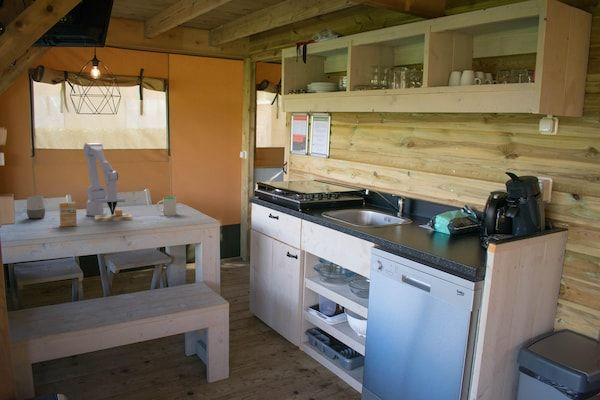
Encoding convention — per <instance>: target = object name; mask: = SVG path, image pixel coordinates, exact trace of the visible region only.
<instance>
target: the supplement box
mask: <svg viewBox="0 0 600 400" xmlns="http://www.w3.org/2000/svg"><path fill="white" fill-rule="evenodd" d="M58 204H59V205H58V206H59V224H60V227H73V226H74V227H77V226H78V222H77V221H78V219H77V218H78V217H77V202H76V201H59V203H58Z"/></svg>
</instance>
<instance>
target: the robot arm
mask: <svg viewBox="0 0 600 400" xmlns="http://www.w3.org/2000/svg"><path fill="white" fill-rule="evenodd" d="M83 155H84V158H85V159H86V161H87V167H88V174H89V179H90V185H89V186H88V187H87V189H86V198H87V201H86V203H85V209H86V211H85V212H86V214H85V216H93V217H95V215H108V213H107V212H104V210H105V209H104V204H106V203H107V206H108V208H109V210H110V212H111V214H110V215H114V214H115V209H116V207H117V204H118V203H126V198H120V197H119V198H118V189H117V188H118V186H117V185H118V184H117V181H118V180H119V173H118V171H117V170H115V169H113V167H112V165H111V163H110V162H109V161H107V159H106V157H105V154H104V145H103V143H101V142H97V143H95V142H93V143H92V142H91V143H90V142H89V143H88V142H86V143H84V145H83ZM97 160H98V162H99V163H100V165H99V167H100V169H101V171H102V173H103V179H104V183H105V185H106V186H105V187H106V188H105V187H104V186H103V185H102V184H101V182H100V177H99V170H98V164H97V163H98V162H97Z"/></svg>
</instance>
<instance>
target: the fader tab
mask: <svg viewBox="0 0 600 400" xmlns="http://www.w3.org/2000/svg"><path fill="white" fill-rule="evenodd" d="M114 214H115V216H118V215H122V214H123V208H120V209H119V208H117V209H116V208H115V210H114Z"/></svg>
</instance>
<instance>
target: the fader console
mask: <svg viewBox="0 0 600 400" xmlns="http://www.w3.org/2000/svg"><path fill="white" fill-rule="evenodd" d="M132 219H133V218H132V214H131V213H122V215H118V216H115V213H114V215H111V214H105V215H95V216H94V222H95V223H99V222H101V221H102V222H118V221H132ZM102 222H101V223H102Z"/></svg>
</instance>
